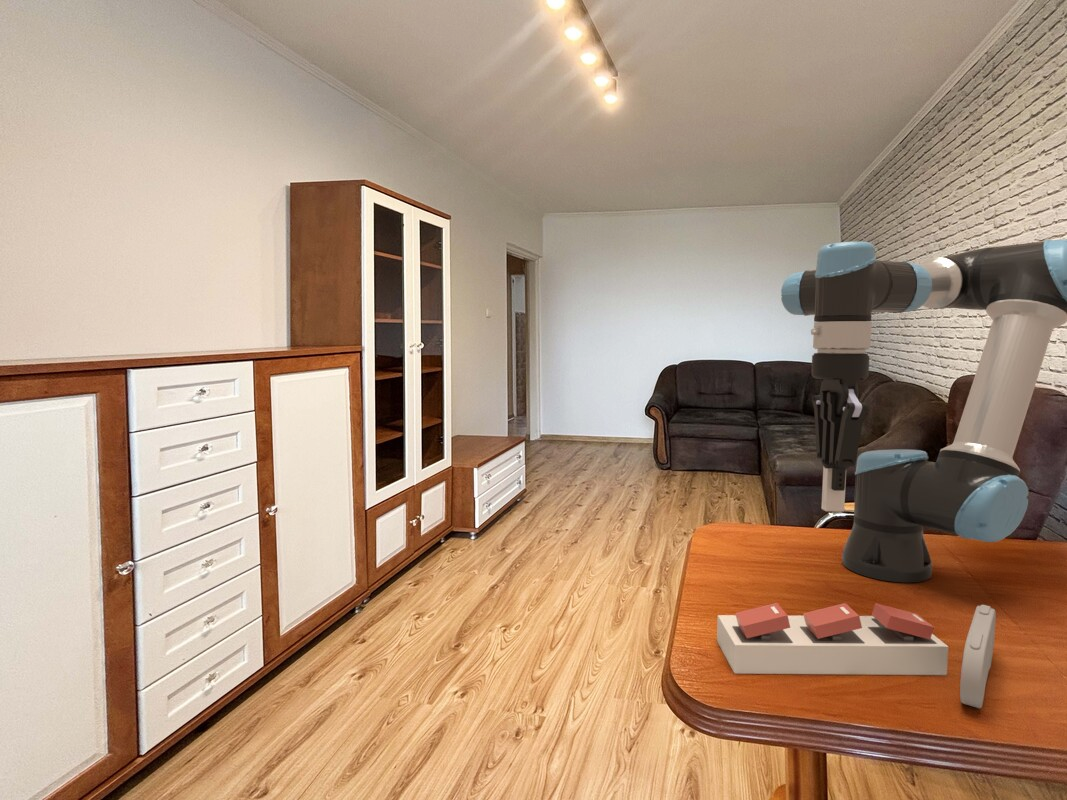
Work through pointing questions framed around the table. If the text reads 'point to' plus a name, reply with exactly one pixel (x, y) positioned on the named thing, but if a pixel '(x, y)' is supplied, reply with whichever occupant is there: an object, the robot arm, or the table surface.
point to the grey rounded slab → (977, 656)
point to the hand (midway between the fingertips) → (832, 509)
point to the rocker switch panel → (831, 650)
